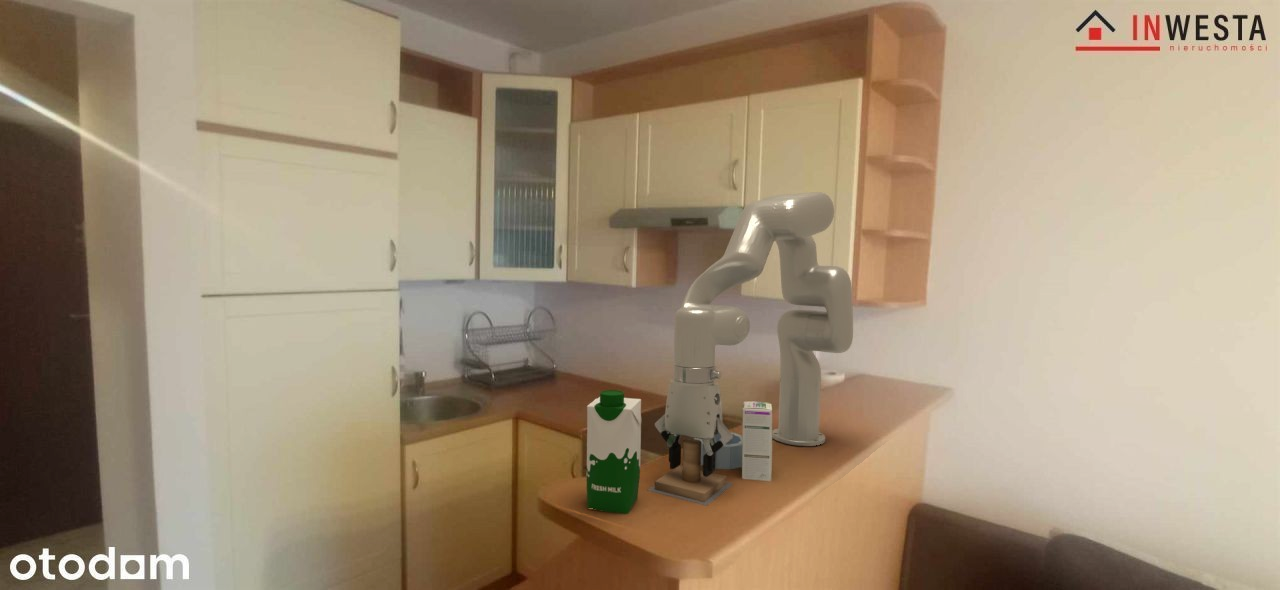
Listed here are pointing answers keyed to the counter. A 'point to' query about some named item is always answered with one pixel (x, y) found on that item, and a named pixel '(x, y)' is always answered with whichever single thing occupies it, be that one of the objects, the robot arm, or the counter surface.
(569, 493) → the counter surface
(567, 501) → the counter surface
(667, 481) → the lid
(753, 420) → the syrup box
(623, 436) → the milk carton
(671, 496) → the mat
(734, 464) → the bowl
